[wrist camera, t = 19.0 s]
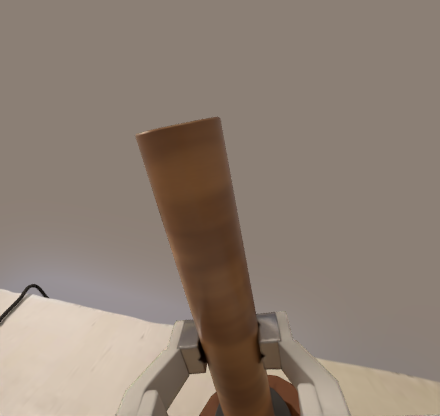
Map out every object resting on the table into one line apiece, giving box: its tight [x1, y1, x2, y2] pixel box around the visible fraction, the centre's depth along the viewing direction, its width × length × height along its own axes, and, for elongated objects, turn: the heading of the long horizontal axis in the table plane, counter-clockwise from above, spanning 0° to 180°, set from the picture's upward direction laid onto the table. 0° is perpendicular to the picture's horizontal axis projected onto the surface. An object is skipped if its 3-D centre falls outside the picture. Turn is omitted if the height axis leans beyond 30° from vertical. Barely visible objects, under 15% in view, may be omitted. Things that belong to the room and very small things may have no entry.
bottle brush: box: [136, 117, 291, 416], centre depth 11 cm, size 5×5×24 cm
